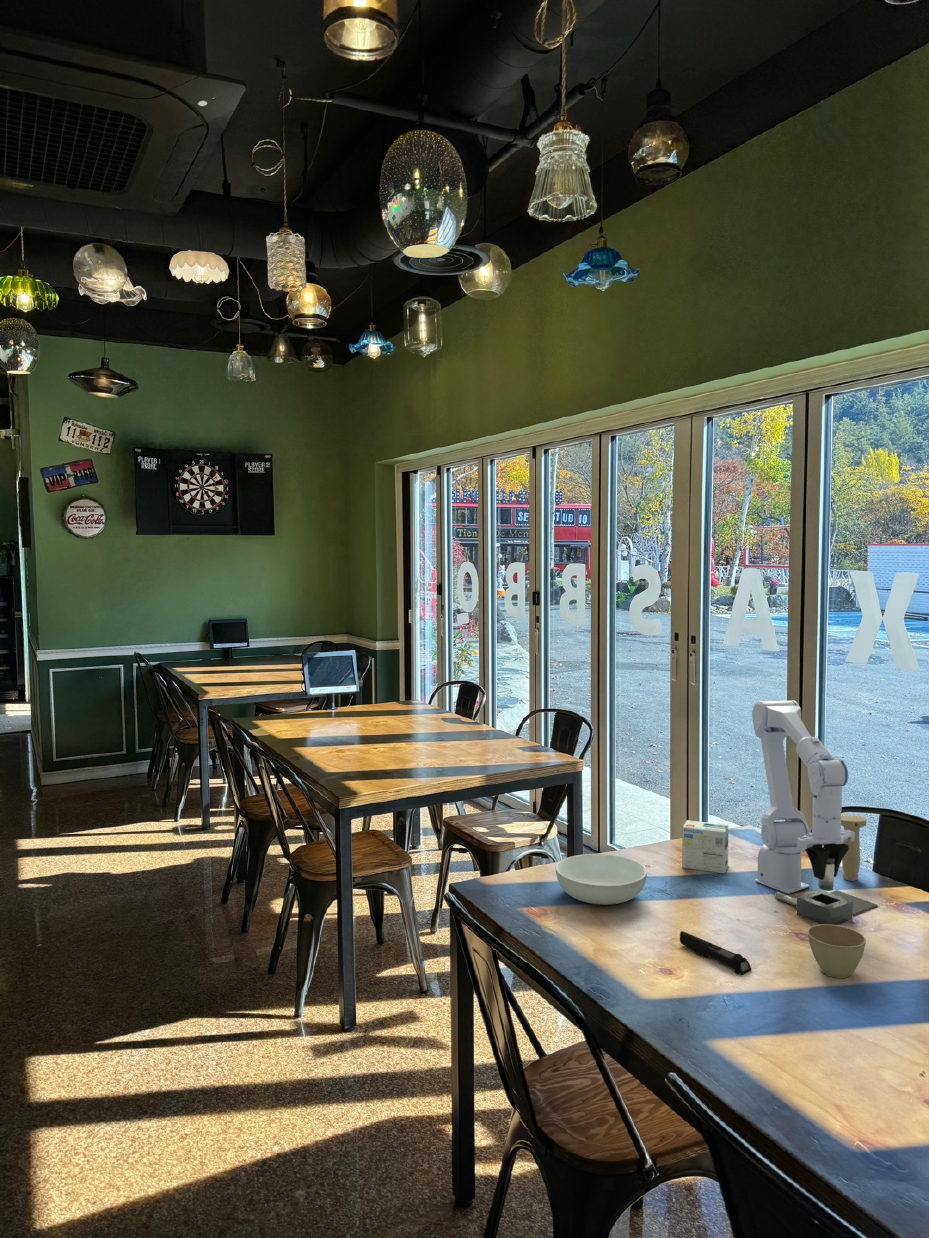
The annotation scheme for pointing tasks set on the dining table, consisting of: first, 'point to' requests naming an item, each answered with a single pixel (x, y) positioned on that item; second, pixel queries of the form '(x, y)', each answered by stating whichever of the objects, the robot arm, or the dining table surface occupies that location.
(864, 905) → the mat
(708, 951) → the electric trimmer
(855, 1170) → the dining table surface
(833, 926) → the flower pot
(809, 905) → the grey hollow block
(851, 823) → the handle
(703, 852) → the light bulb box
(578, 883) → the serving bowl
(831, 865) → the spice shaker
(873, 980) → the dining table surface
